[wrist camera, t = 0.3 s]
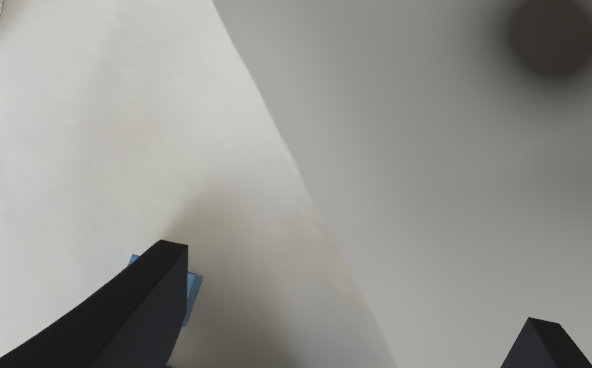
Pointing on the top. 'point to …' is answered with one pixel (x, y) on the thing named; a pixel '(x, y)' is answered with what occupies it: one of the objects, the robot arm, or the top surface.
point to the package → (192, 289)
